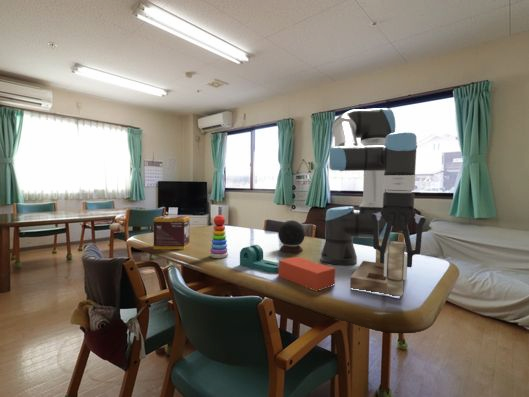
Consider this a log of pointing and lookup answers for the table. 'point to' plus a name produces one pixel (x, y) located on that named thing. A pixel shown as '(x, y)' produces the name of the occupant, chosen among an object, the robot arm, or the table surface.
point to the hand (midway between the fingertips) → (395, 276)
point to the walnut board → (370, 275)
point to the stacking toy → (219, 239)
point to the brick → (307, 273)
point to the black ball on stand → (291, 236)
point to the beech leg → (395, 268)
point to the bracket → (257, 259)
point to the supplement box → (171, 232)
